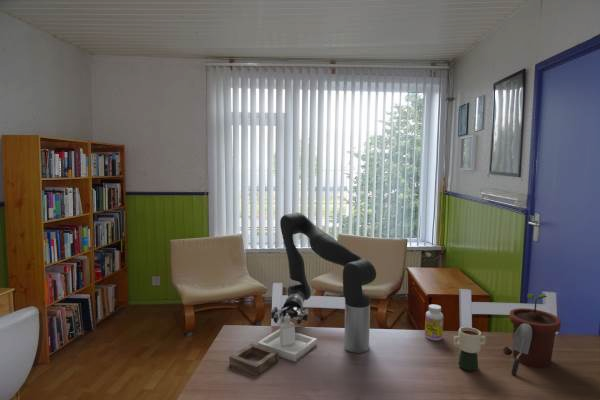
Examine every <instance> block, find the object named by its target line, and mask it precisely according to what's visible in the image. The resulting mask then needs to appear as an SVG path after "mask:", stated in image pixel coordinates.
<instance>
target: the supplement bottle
mask: <svg viewBox="0 0 600 400" xmlns="http://www.w3.org/2000/svg"><path fill="white" fill-rule="evenodd" d="M441 311H442V307H441V305H440V304H439V305H438V304H432V303H431V304H429V305H428V310H427V311H426V312H425V324H424V336H425V338H426V339H428V340H430V341H441V340H442V339H443V332H444V331H443V330H444V314H443V313H442V312H441Z"/></svg>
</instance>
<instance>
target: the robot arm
mask: <svg viewBox="0 0 600 400" xmlns="http://www.w3.org/2000/svg"><path fill="white" fill-rule="evenodd" d="M279 227H280V231H281V235H282V240H283V244H284V247H285V252H286V255H287V262H288V271H289V278H290V280H292V281H295V282H298V283H299V284H291V285H289V286H288V288H287V298H286V299H285V302H284V303H283V305H282V307H280V308H278V307H277V306H275V307H273V308H272V310H271V311H270V319H272V320H273V322H274V324H277V323H278V321H279V320H280V319H281V320H284V316H286V313H288V315H289V316H290V319H295V320H297V321H296V322H297V325H300V324H302V323H303V321H306V322H308V319H309V308H304V310H303V307H304V303H305V301H308V300H309V299H310V298H311V294H312V290H311V287H310V285H309V281H308V280H307V279H308V278H307V277H306V269H305V259H304V258H303V256H302V254H301V252H300V251H299V249H298V248H297V246H296V244H295V241H294V235H297V234H303V235H305V236H306V237H307V238H308V242H309V245H310V249H311V250H312V251H313V253H314V254H315V255H318V257H320V258H321V259H322V260H324V261H327V262H330V263H333V264H337V265H340V266H342V267H343V269H342V290H343V292H342V293H343V297H344V335H343V337H344V343H343V344H344V345H343V347H344V349H345V350H346V351H348V352H349V353H356V354H361V353H362V354H363V353H366V352H368V351H369V349H370V324H371V323H370V321H371V319H370V318H371V315H370V314H371V297H370V295H369V294H367V293H364V292H363V286H366V285H369V284H371V283H372V282H374V281H375V280H376V278H377V270H376V268H375V266H374V264H373V263H371V261H369V260H368V259H366V258H364V257H362V256H360V255H358V254H357V253H355V252H353V250H352V251H351V250H350V249H349V248H347V247H346V245H345V246H344V245H343V244H342V243H340V242H339V241H337V240H336V239H335V238H333V236H330V234H328V233H326V232H325V231H324V230H322V229H321V228H319V227H318V226H317V225H316V224H315V223H313V222H312V221H311V220H310V218H308V217H307V216H306V215H305V214H303V213H301V212H294V213H287V214H284V215H282V216H281V218H280V221H279Z"/></svg>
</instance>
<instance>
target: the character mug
mask: <svg viewBox="0 0 600 400" xmlns="http://www.w3.org/2000/svg"><path fill="white" fill-rule="evenodd" d="M486 340H487V339H486V336H485V335H482V332H481V330H479V329H477V328H474V327H470V326H462V327H459V329H458V335H454V336H453V342H452V343H453V346H457V347H458V349H460V352H459V356H458V365H459V367H461V368H463V369H465V370H467V371H476V370H478V368H479V359H478V353H480V351H481V348H482V346H485V345H486Z"/></svg>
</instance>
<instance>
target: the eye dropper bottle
mask: <svg viewBox="0 0 600 400" xmlns="http://www.w3.org/2000/svg"><path fill="white" fill-rule="evenodd" d="M279 329H280V344H281V345H282V346H289V345H293V344H294V343H295V332H296V325H295V323H294V322H293V321H291V318H290V316H289V315H288V313H286V316H284V319H283V322H282V323H281V324H280V325H279Z"/></svg>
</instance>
